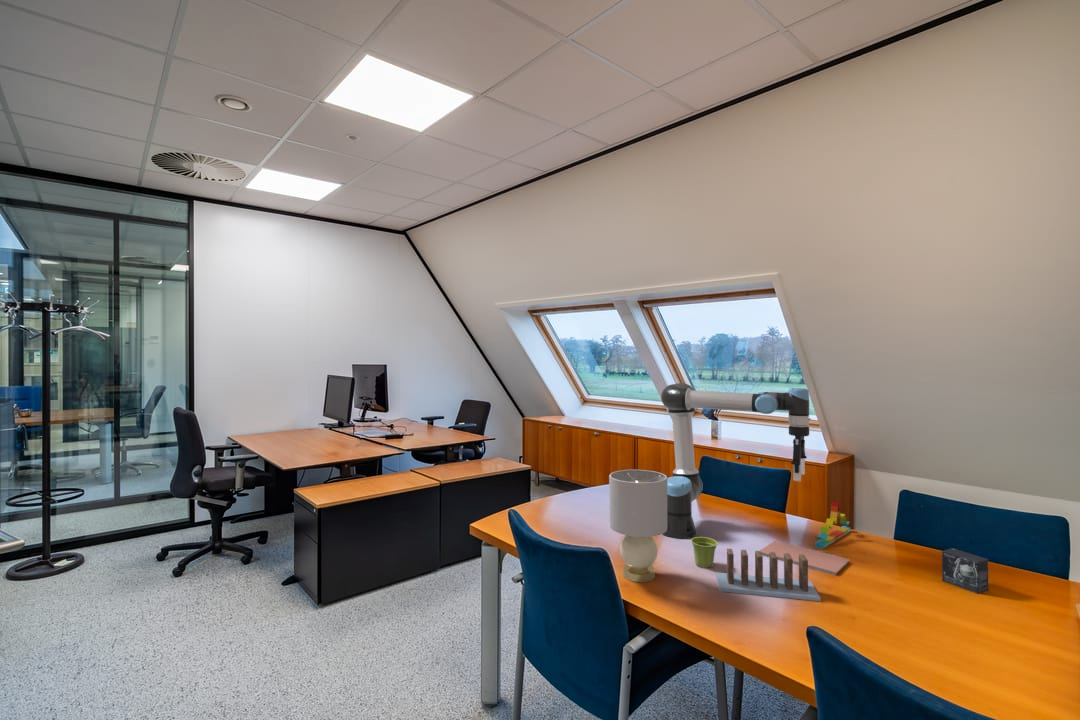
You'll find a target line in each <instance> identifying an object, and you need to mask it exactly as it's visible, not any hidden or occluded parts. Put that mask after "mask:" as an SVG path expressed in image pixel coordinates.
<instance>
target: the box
mask: <svg viewBox="0 0 1080 720" xmlns="http://www.w3.org/2000/svg"><path fill="white" fill-rule="evenodd" d="M941 563H942V564H941V581H942V582H944V583H947V584H950V585H952V586H956V587H959V588H961V589H964V590H966V591H969V592H972V593H975V594H981V593H984V592H987V591H989V589H990V588H989V559H988V558H986V557H982V556H979V555H975V554H973V553H971V552H966V551H963V550H960V549H956V548H949V549H948V548H947V549H944V550H942V551H941Z"/></svg>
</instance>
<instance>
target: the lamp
mask: <svg viewBox="0 0 1080 720" xmlns="http://www.w3.org/2000/svg"><path fill="white" fill-rule="evenodd" d="M667 478H668V477H667V475H666V474H664V473H662V472H658V471H653V470H647V469H646V470H645V469H623V470H622V469H621V470H617V471H613V472H611V473H610V474H609V475H608V481H609V483H608V484H609V485H608V486H609V528H610V529H611V530H612V531H613V532H616V533H618V534H621V535H624V537H623V538H622V540H621V542H620V545H619V552H620V555H621V558H622V560H623V562H624V563H625V564H624V565H623V568H622V569H623V570H622V572H623V574H622V575H623V577H624V578H625V579H627V580H628V581H631V582H635V583H647V582H651V581H652V580H654V579H655V575H656V574H655V573H656V571H655V568H654V567H653V564H655V562H656V560H657V557H658V547H657V544H656V541H655V540H654V538H653V537H656V536H662V535H663V533H665V532H666V531H667Z"/></svg>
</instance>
